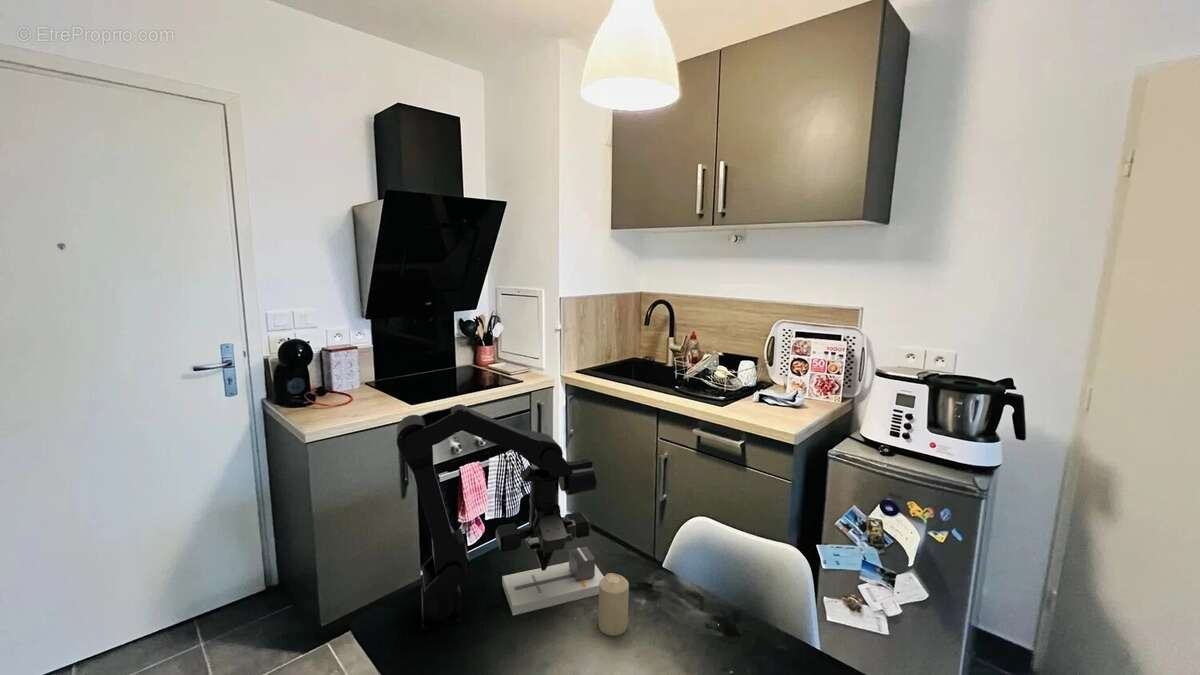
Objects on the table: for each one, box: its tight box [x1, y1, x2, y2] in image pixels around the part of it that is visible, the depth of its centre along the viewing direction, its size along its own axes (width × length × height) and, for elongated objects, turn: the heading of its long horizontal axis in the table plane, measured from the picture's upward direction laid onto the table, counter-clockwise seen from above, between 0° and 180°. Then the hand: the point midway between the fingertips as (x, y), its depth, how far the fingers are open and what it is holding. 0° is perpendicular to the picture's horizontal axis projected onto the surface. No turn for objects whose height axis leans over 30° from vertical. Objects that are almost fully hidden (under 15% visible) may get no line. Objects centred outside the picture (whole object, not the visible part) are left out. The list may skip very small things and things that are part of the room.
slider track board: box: [501, 561, 605, 616], centre depth 103 cm, size 20×10×2 cm, turn 113°
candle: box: [597, 572, 630, 637], centre depth 92 cm, size 6×6×10 cm
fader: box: [568, 546, 596, 581], centre depth 105 cm, size 4×5×4 cm
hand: (543, 569), depth 101 cm, fingers closed
